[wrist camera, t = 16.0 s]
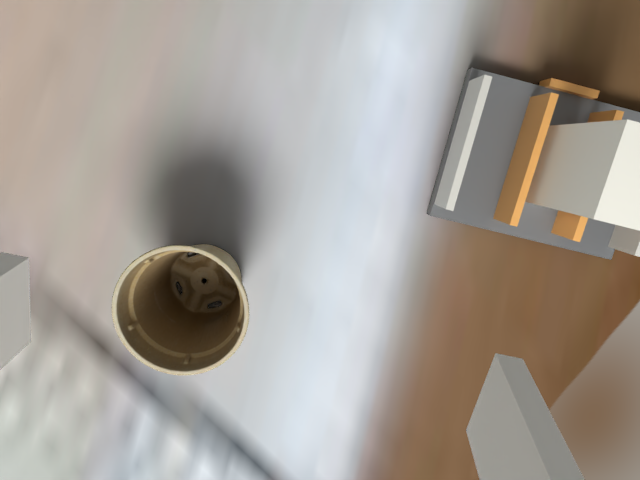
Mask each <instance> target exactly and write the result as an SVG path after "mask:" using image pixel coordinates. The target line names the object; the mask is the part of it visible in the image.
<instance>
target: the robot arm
mask: <svg viewBox="0 0 640 480" xmlns="http://www.w3.org/2000/svg"><path fill="white" fill-rule="evenodd" d="M30 342H31V312H30V274H29V258H28V257H23V256H18V255H13V254H9V253H4V252H1V253H0V370H1V369H2V368H3V367H4V366H5V365H6V364H7V363H8V362H9V361H10V360H12V359H13V358H14V357H15V356H16V355H17V354H18V353H19V352H20V351H21V350H22V349H24V348H25V347H26V346H27V345H28V344H29V343H30ZM466 432H467V435H468V439H469V443H470V446H471V450H472V454H473V457H474V461H475V464H476V468H477V472H478V475H479V479H480V480H585V479H584V477H583V475H582V473H581V472H580V469H579V468H578V466H577V464H576V462H575V460H574V458H573V456H572V454H571V452H570V450H569V448H568V446H567V444H566V442H565V440H564V438H563V436H562V435H561V433H560V431H559V429H558V427H557V425H556V423H555V421H554V419H553V417H552V415H551V413H550V411H549V409H548V407H547V405H546V403H545V401H544V399H543V397H542V396H541V394H540V392H539V390H538V388H537V386H536V384H535V382H534V380H533V378H532V376H531V374H530V372H529V370H528V368H527V366H526V364H525V362H524V361H523V359H521V358H516V357H511V356H506V355H501V354H496V353H495V356H494V359H493V361H492V364H491V367H490V369H489V372H488V374H487V377H486V380H485V382H484V385H483V387H482V390H481V393H480V395H479V398H478V401H477V403H476V406H475V408H474V411H473V414H472V416H471V419H470V421H469V424H468V427H467V429H466Z"/></svg>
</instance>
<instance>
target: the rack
mask: <svg viewBox="0 0 640 480" xmlns="http://www.w3.org/2000/svg"><path fill="white" fill-rule="evenodd" d="M599 92H600V91H599V90H595V89H591V88H588V87H584V86H580V85H576V84H573V83H569V82H565V81H561V80H558V79H554V78H549V79H546V80H542V81H540V82H539V85H536V84H532V83H528V82H524V81H521V80H517V79H513V78H509V77H506V76H502V75H498V74H494V73H491V72H487V71H483V70H479V69H476V68H470V69H468V70H467V73H466V77H465V81H464V84H463V88H462V91H461V95H460V98H459V102H458V105H457V109H456V112H455V116H454V119H453V123H452V126H451V130H450V133H449V137H448V140H447V144H446V147H445V151H444V154H443V158H442V162H441V165H440V169H439V172H438V176H437V179H436V183H435V186H434V190H433V193H432V197H431V200H430V204H429V207H428V211H427V214H428V215H430V216H434V217H438V218H442V219H446V220H450V221H454V222H458V223H463V224H467V225H471V226H475V227H479V228H483V229H487V230H491V231H495V232H500V233H504V234H508V235H512V236H516V237H520V238H524V239H528V240H532V241H536V242H541V243H545V244H549V245H553V246H557V247H561V248H565V249H569V250H573V251H578V252H582V253H586V254H590V255H594V256H598V257H602V258H606V259H610V260H611V259H612V256H613V253H614V250H615V249H617V250H620V251H623V252H626V253H629V254H632V255H635V256H639V257H640V231H639V230H635V229H631V228H627V227H623V226H619V225H615V224H611V223H607V222H603V221H599V220H595V219H591V218H587V217H583V216H579V215H575V214H571V213H567V212H563V211H559V210H556V209H552V208H548V207H544V206H540V205H536V204H532V203H528V202H525V200H526V197H527V194H528V191H529V188H530V185H531V182H532V178H533V175H534V172H535V169H536V166H537V163H538V159H539V156H540V153H541V150H542V147H543V144H544V141H545V137H546V134H547V131H548V128H549V126H552V125H564V124H577V123H589V122H601V121H613V120H626V119H628V120H632V121H636V122H639V123H640V112H637V111H633V110H629V109H626V108H622V107H618V106H614V105H611V104H607V103H603V102H599V101H596V100H592V99H597V98H598V95H599Z"/></svg>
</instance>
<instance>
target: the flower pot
mask: <svg viewBox="0 0 640 480" xmlns="http://www.w3.org/2000/svg"><path fill="white" fill-rule="evenodd" d="M189 252H194V253H199V254H197V255H194V256H191V257H188V256H187V254H188V253H189ZM231 276H232V277H231ZM203 278H205V279H206V280H207V282H206V283H203V282H202V279H203ZM177 282H179V284H180V286H181V287H182V288H181V290H182V294H180V293H179V291H178V289H177V286H176V283H177ZM217 301H221V303H222V304H221V306H219V307H213V308H208V304H210V303H213V302H217ZM112 317H113V322H114V327H115V329H116V332H117V334H118V336H119V337H120V340H121V341H122V342H123V344H124V346H125V347H126V348H127V349H128V351H129V352H130V353H131V354H132V355H133V356H134V357H135V358H137V359H138V360H139V361H141V362H142V363H144V364H145V365H147V366H149V367H151V368H152V369H155V370H157V371H160V372H164V373H168V374H173V375H195V374H200V373H204V372H207V371H209V370H211V369H214V368H216V367H218V366H219V365H221V364H223V363H224V362H225V361H226V360H227V359H229V358H230V357H231V356H232V355H233V354H234V353H235V352H236V350H237V349H238V348H239V346H240V345H241V343H242V341H243V339H244V337H245V334H246V331H247V327H248V322H249V304H248V299H247V294H246V291H245V289H244V287H243V285H242V279H241V273H240V269H239V267H238V265H237V263H236V261H235V260H234V259H233V257H232V256H231V255H230V254H229V253H227V252H226V251H224V250H222V249H220V248H218V247H216V246H213V245H208V244H199V245H194V246H186V245H170V246H164V247H160V248H157V249H154V250H151V251H149V252H147V253H145V254H143V255H142V256H140V257H139V258H137V259H136V260H134V261H133V262H132V263H131V264H130V265H129V266H128V267H127V268H126V269H125V271H124V272H123V273H122V275H121V276H120V278H119V280H118V282H117V284H116V287H115V290H114V293H113V296H112Z"/></svg>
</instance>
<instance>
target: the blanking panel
mask: <svg viewBox="0 0 640 480" xmlns="http://www.w3.org/2000/svg"><path fill="white" fill-rule="evenodd" d="M525 202H528V203H532V204H536V205H540V206H544V207H548V208H552V209H556V210H559V211H563V212H567V213H571V214H575V215H579V216H583V217H587V218H591V219H595V220H599V221H603V222H607V223H611V224H615V225H619V226H623V227H627V228H631V229H635V230H639V231H640V123H639V122H636V121H632V120H628V119H626V120H613V121H601V122H589V123H577V124H564V125H552V126H549V128H548V131H547V134H546V137H545V141H544V144H543V147H542V150H541V153H540V156H539V159H538V163H537V166H536V169H535V172H534V175H533V178H532V182H531V185H530V188H529V191H528V194H527V197H526V200H525Z"/></svg>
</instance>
